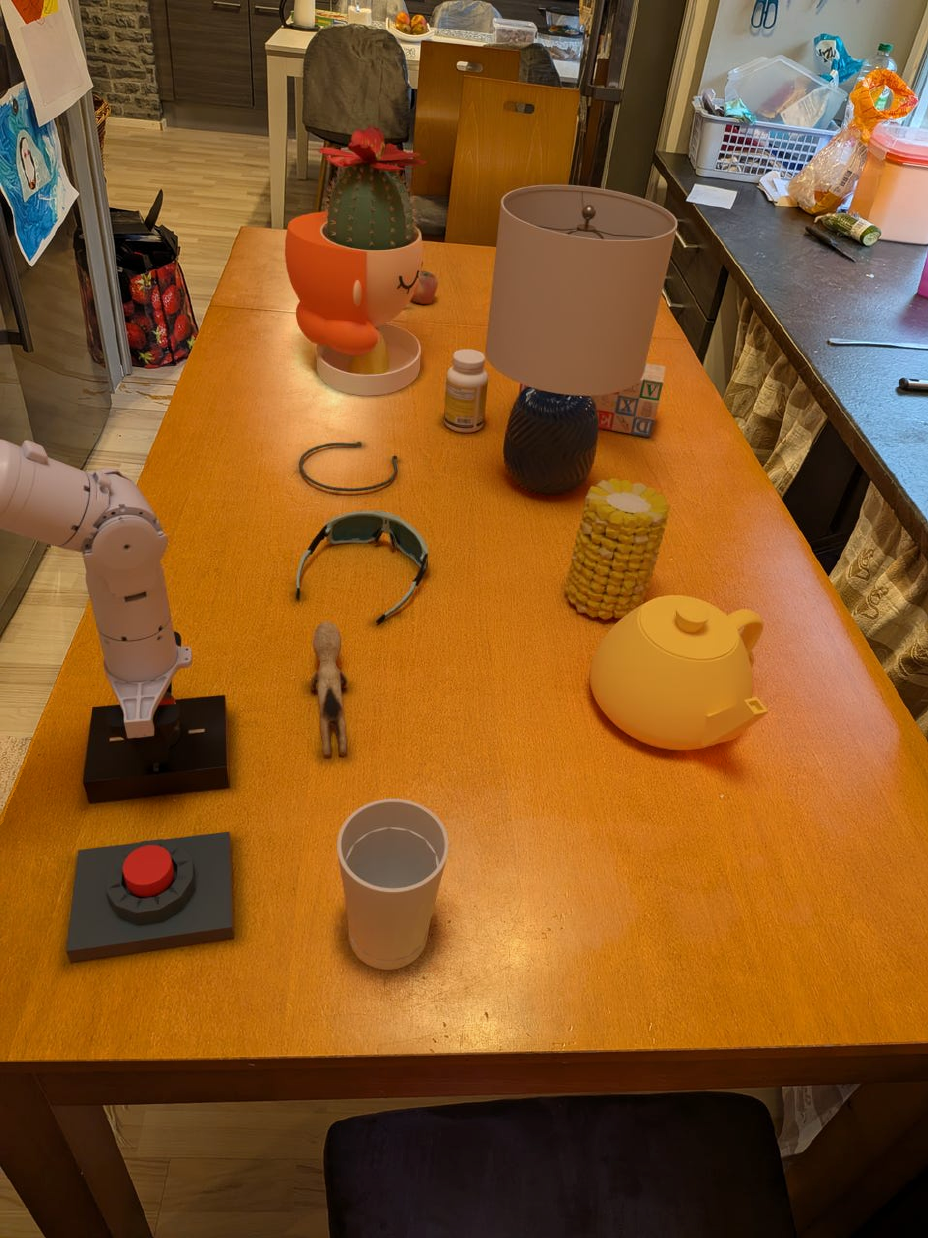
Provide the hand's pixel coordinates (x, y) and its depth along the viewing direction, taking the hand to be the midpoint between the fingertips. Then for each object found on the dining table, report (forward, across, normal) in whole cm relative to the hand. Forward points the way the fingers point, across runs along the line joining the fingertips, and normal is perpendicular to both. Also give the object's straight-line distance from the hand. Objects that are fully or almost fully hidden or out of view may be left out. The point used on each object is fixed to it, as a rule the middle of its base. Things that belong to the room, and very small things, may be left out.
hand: (157, 732), depth 81 cm
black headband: (+4, +49, -23) cm, 54 cm away
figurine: (+4, +5, -16) cm, 17 cm away
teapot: (+4, -1, -52) cm, 52 cm away
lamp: (+4, +44, -50) cm, 67 cm away
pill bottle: (+4, +61, -42) cm, 74 cm away
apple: (+4, +109, -44) cm, 118 cm away
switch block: (+3, -15, 0) cm, 15 cm away
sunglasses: (+4, +25, -22) cm, 34 cm away
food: (+4, +18, -50) cm, 53 cm away
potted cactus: (+4, +82, -28) cm, 87 cm away
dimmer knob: (0, 0, 0) cm, 0 cm away
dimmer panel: (+3, 0, 0) cm, 3 cm away
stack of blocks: (+4, +62, -62) cm, 88 cm away
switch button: (0, -15, 0) cm, 15 cm away
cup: (+4, -21, -18) cm, 28 cm away
